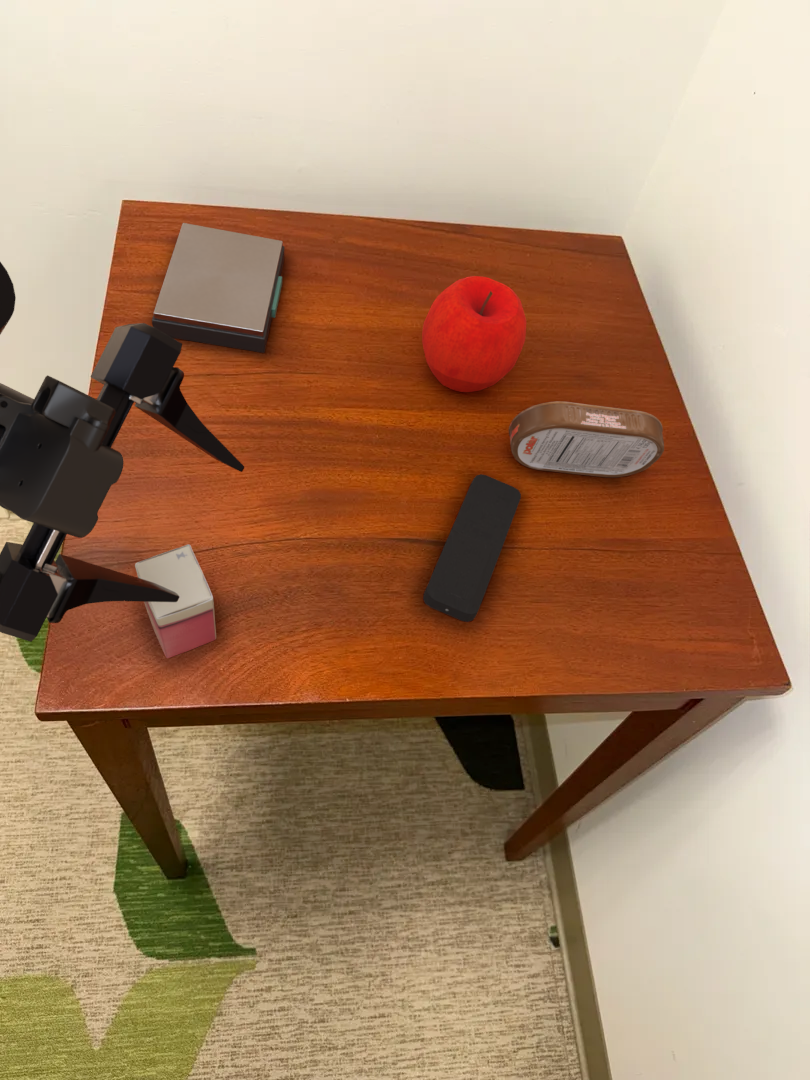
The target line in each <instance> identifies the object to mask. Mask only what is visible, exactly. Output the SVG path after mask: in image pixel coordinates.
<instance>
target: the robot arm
mask: <svg viewBox="0 0 810 1080" xmlns="http://www.w3.org/2000/svg"><path fill="white" fill-rule="evenodd" d="M15 306H16V292H15V286H14V283H13V281H12V278H11V276H10V275H9V272H8V270H7V269H6V267H5V266H4V265H3V263H2V262H1V261H0V335H1V334H2V333H3V331H4V329H5V328H6V326H7V325H8V323H9V322H10V320H11V318H12V316H13V314H14V311H15ZM105 345H106V346H105V347H104V349H103V351H102V353H101V355H100V357H99V359H98V361H97V363H96V365H95V367H94V369H93V370H92V373H91V374H90V379H93V380H94V381H97V382H98V383H100V384H102V385H103V386H102V388H101V389H100V392H99V393H98V396H97V398H94V397H93V396H91V395H89V394H87V393H86V392H82V391H80V390H78V389H77V388H75V387H73V386H71V385H69V384H67V383H64V382H63V381H60V380H59V379H56V378H54V377H52V376H51V375H46V376H45V377H44V379H43V381H42V383H41V385H40V387H39V388H38V391H37V393H36V395H35V396H34V398H33V397H30V396H29V395H26V394H24V393H22V392H20V391H19V390H16V389H14V388H12V387H10V386H8V385H6V384H3V383H2V382H0V507H1V509H4V510H7V511H10V512H11V513H13V514H14V515H16V516H17V517H18V518H20V519H21V520H23V521H27V522H30V523H33V524H32V525H31V527H30V529H29V531H28V533H27V535H26V537H25V539H24V541H23V543H22V544H21V543H16V542H10V541H6V542H5V544H3V545H4V546H3V547H2V549H1V552H0V633H1V634H4V635H8V636H11V637H14V638H18V639H20V640H24V641H27V642H29V643H32V642H33V641H34V640H35V639H36V638H37V637H38V635H39V634H40V631H41V629H42V627H43V625H44V623H45V622H46V619H47V621H48V623H49V624H59V623H60V622H61V621H62V619H63V618H64V616H65V615H66V613H67V612H68V611H70V610H73V609H76V608H78V607H81V606H84V605H89V604H98V603H109V602H138V603H139V602H143V603H144V602H177V601H178V599H179V595H178V594H177V593H176V592H174V591H171V590H169V589H167V588H165V587H162V586H160V585H158V584H156V583H153V582H150V581H147V580H144V579H140V578H138V576H134V575H130V574H127V573H124V572H120V571H117V570H114V569H111V568H108V567H104V566H101V565H97V564H94V563H92V562H88V561H85V560H81V559H78V558H75V557H71V556H68V555H65V554H63V553H62V554H61V553H59V551H60V549H61V548H62V545H63V543H64V541H65V539H66V538H67V535H68V536H72V537H75V538H78V539H82V538H85V537H87V536H88V535H89V534H91V533H92V531H93V529H94V528H95V526H96V525H97V522H98V521H99V515H98V512H99V511H100V509H101V507H102V505H103V503H104V501H105V499H106V497H107V495H108V493H109V492H110V491H109V490H110V489H111V487H112V486H113V485H114V484H116V483H117V482H118V481H119V479H120V477H121V476H122V474H123V473H122V472H123V469H124V464H125V462H124V457H123V454H122V453H121V452H120V451H118V450H116V449H114V448H112V446H113V444H114V443H115V440H116V438H117V436H118V435H119V433H120V431H121V429H122V426H123V425H124V423H125V421H126V419H127V417H128V415H129V413H130V412H131V409H132V407H133V405H134V407H135V408H137V409H139V410H140V411H141V412H143V413H144V414H146V415H147V416H148V417H151V418H152V419H153V420H155V421H156V422H158V423H160V424H161V425H163V426H164V427H166V428H167V429H169V430H170V431H172V432H173V433H174V434H176V435H178V436H179V437H181V438H182V439H184V440H185V441H187V442H188V443H189V444H192V445H193V446H194V447H195V448H197V449H199V450H200V451H202V452H203V453H205V454H206V455H208V456H209V457H211V458H212V459H214V460H216V461H218V462H219V463H222V464H224V465H225V466H228V467H230V468H232V469H234V470H236V471H238V472H240V473H242V472H243V471H244V469H245V465H243V463H242V462H241V461H240V460H239V459H238V458H237V457H236V456H235V455H234V454H233V453H232V452H231V451H230V450H229V448H227V447H226V445H224V444H223V443H222V442H221V441H220V440H219V439H218V438H217V436H215V435H214V434H213V433H212V431H210V429H208V428H207V426H205V424H204V422H202V421H201V420H200V418H199V417H198V415H196V413H195V412H194V410H193V409H192V407H191V406H190V405H189V404H188V402H187V400H186V398H185V396H184V394H183V392H182V390H181V385H182V383H183V381H184V378H185V371H184V370H182V369H181V368H179V367H175V365H176V362H177V361H178V359H179V357H180V355H181V353H182V346H183V343H182V342H181V341H178V339H176V338H172V337H170V336H168V335H167V334H165V333H163V332H161V331H160V330H158V329H156V328H154V327H153V325H150V324H147V323H145V322H138V323H128V324H124V325H123V324H122V325H119V326H116V327H114V330H113V331H112V333H111V335H110V337H109V339H108V342H107V344H105ZM58 553H59V554H58ZM56 557H57V558H56Z"/></svg>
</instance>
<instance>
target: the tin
mask: <svg viewBox="0 0 810 1080" xmlns="http://www.w3.org/2000/svg"><path fill="white" fill-rule="evenodd" d="M663 427H664V426H663V424H662V422H661V420H660V419H659V418H658V417H656V416H655V415H654V414H651V413H649V412H646V411H642V410H635V409H629V408H628V409H627V408H620V407H611V406H603V405H595V404H586V403H579V402H571V401H564V400H563V401H562V400H560V401H559V400H558V401H547V402H542V403H538V404H535V405H531V406H529V407H527V408H526V409H523V410H522V411H520V412H519V413H518V414H516V416H514V418H513V419H512V420H511V422H510V424H509V426H508V436H509V444H510V452H511V454H512V456H513V458H514V459H515V461H516V462H517V463H519V464H520V465H522V466H524V467H526V468H528V469H530V470H535V471H541V472H542V471H544V472H552V473H562V474H569V475H578V476H579V475H581V476H590V477H597V478H598V477H599V478H611V479H612V478H623V477H629V476H633V475H636V474H639V473H641V472H644V471H645V470H648V469H649V468H650V467H651V466H652V465H654V464H655V463H656V462H657V461H658V460H659V459H660V458H661V456H663V453H664V451H665V441H664V434H663V431H664V428H663Z"/></svg>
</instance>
